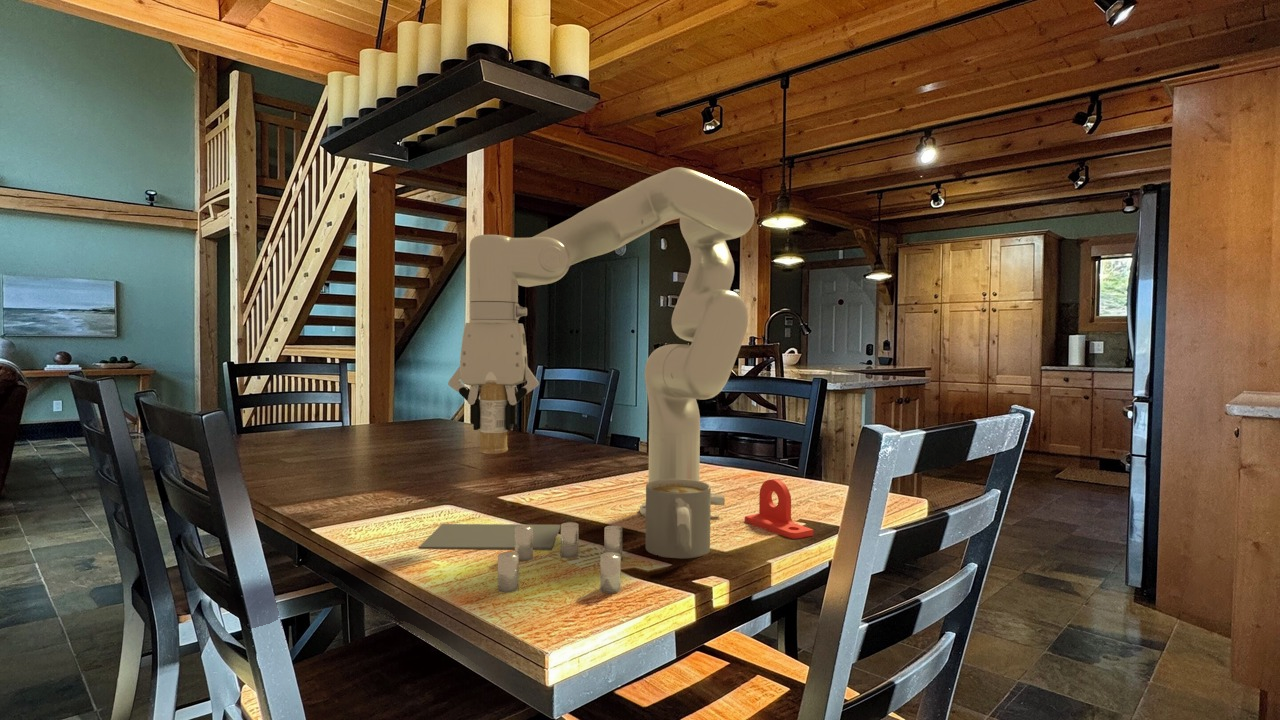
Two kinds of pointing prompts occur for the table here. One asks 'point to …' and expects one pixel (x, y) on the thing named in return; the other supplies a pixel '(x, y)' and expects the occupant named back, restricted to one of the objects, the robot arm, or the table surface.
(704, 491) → the coffee mug
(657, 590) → the table surface
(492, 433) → the sprinkles bottle
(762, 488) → the bracket
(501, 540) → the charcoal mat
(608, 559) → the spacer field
